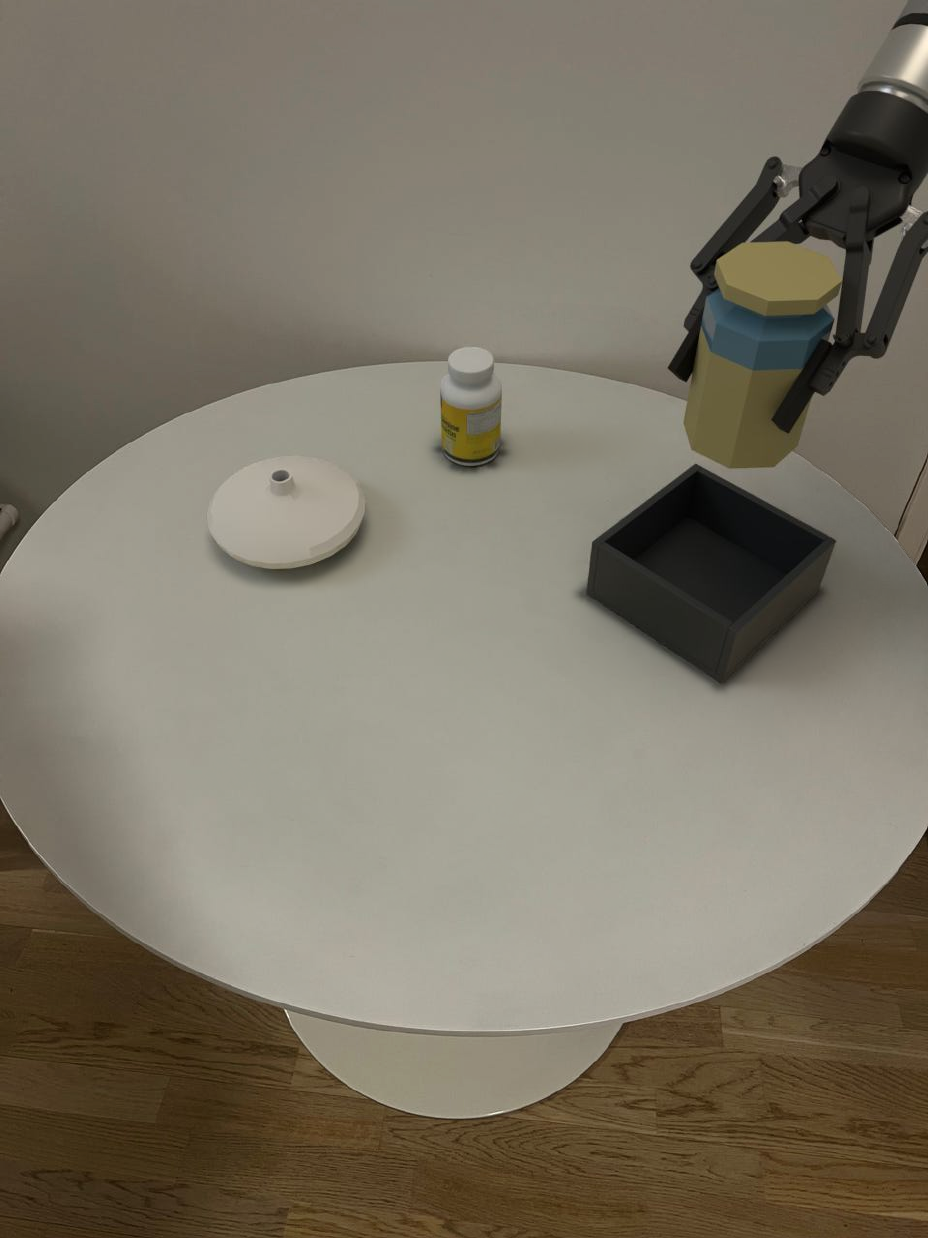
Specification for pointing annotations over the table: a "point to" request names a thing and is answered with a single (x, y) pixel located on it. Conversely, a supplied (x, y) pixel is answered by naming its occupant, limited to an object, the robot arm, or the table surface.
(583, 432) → the table surface
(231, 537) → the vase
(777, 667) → the table surface
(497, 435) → the pill bottle
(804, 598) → the bin
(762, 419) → the jar
